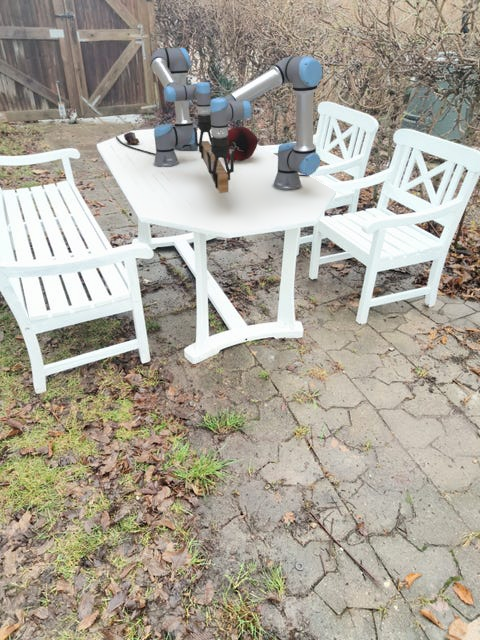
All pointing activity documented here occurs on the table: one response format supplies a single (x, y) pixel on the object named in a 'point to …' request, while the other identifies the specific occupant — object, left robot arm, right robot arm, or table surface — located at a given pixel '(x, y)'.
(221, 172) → the post
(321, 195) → the table surface
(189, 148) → the grey slotted block
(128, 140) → the rock
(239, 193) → the table surface
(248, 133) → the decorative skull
